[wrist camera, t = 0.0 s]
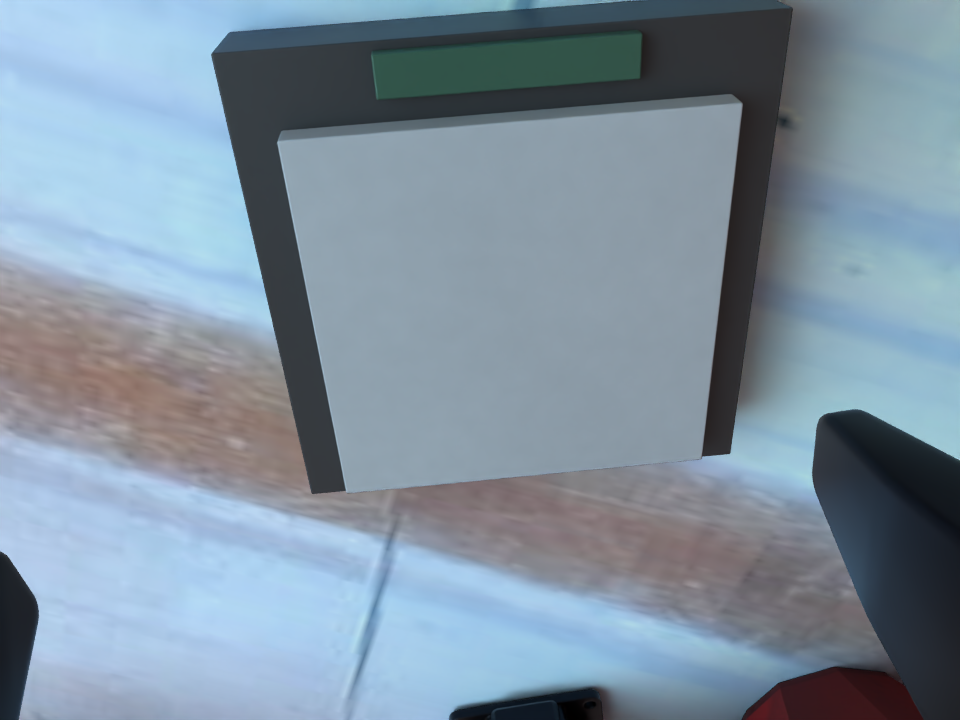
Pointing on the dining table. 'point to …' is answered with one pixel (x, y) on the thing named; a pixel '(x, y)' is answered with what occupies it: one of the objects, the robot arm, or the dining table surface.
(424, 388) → the kitchen scale
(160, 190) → the dining table surface
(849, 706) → the bottle
